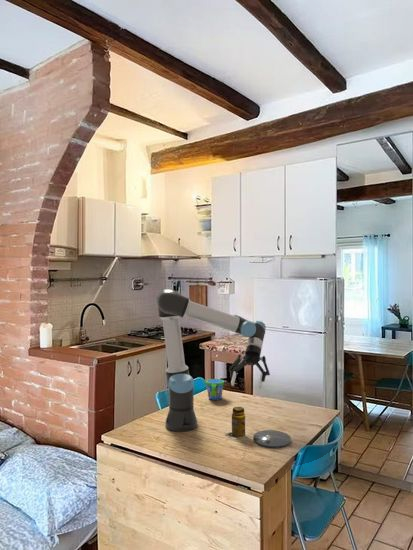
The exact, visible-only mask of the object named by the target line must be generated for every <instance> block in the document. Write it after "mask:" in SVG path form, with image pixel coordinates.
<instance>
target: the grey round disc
mask: <svg viewBox="0 0 413 550" xmlns="http://www.w3.org/2000/svg"><path fill="white" fill-rule="evenodd" d="M252 439H253V440H252V441H253V442H254V444H255V445H257V446H260V447H263V448H265V449H266V448H268V449H280V448H281V449H283V448H286V447H288V446H289V445H291V440H292V439H291V436H290V435H289V434H288V433H287V432H283V431H280V430H274V429H267V430H265V429H263V430H260V431H256V432H255V433H254V434H253V438H252Z"/></svg>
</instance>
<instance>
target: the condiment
mask: <svg viewBox="0 0 413 550" xmlns="http://www.w3.org/2000/svg"><path fill="white" fill-rule="evenodd" d="M224 435H225V436H226V437H228V438H230V439H232V440H238V439H243V438H246V437H250V436H249V434H247V433H246V414H245V408H244V407H243V406H234V407H233V408H232V414H231V432H228V433H224Z"/></svg>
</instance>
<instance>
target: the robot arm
mask: <svg viewBox="0 0 413 550" xmlns="http://www.w3.org/2000/svg"><path fill="white" fill-rule="evenodd" d="M156 304H157V310H158V318H159V319H160V320H161V321H162V328H163V335H164V343H165V350H166V360H167V368H166V369H165V375H166V386H167V389H168V413H167V416H166V419H165V428H166V429H167V430H169V431H172V432H188V431H189V432H190V431H192V430H194V429H196V428H197V427H198V419H197V416H196V413H195V407H194V405H195V403H194V401H195V400H194V387H195V382H194V378H193V377H192V376H191V375H190V370H189V366H188V365H187V364H186V362H185V353H184V346H183V345H184V344H183V338H182V337H183V336H182V327H181V321H180V318H185V317H187V318H190V319H193V320H196V321H199V322H203V323H205V324H209V325H212V326H213V327H218V328H220V329H224V330H227V331H230V332H232V333H235V334H237V335H240V336H241V335H242V336H243V337H246V338H248V340H247V345H246V349H245V354H244V355H241V354H238V356H237V357H236V359H235V361H233V363H232V364H231V365H230V366H229V368H228V372H230V373H231V374H230V379H231V380H230V384H231V385H230V386H231V387H234V386H235V382H236V378H237V373H238V372H239V371H240V370H241V369H242V368H244V367H246V366H256V367H257V369H259V370H258V371H260V374H259V375H260V377H259V382H258V388H259V389H260V390H261V389H262V387H263V382H265V381H266V377H267V376H270V375H271V373H270V370H269V367H268V365H267V358H266V356H265V355H263V356H261V353H262V349H263V344H264V339H265V335H266V329H267V326H266V324H265V323H264V322H263V321H262V320H254V321H250V320H249V319H246V318H244V317H242V316H239V315H237V314H233V315H232V314H230V313H227V312H223V311H221V310H218V309H215V308H212V307H209V306H206V305H204V304H200V303H197V302H195V301H192V300H191V299H190V298H189V297H186V296H184V295H182V294H180V293H179V292H177V291H176V290H175V289H173V288H172V289H171V288H166V289H163V290H161V291H160V292H159V293H158V295H157V296H156ZM260 361H261V362H262V363H263V366H264V368H263V367H262V366H261V364H260V363H259V362H260Z"/></svg>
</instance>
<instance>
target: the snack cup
mask: <svg viewBox="0 0 413 550" xmlns="http://www.w3.org/2000/svg"><path fill="white" fill-rule="evenodd" d="M205 385H206V390H207V398H208V399H209V400H211V401H212V400H213V401H219V400H221V399H222V396H223V390H224V385H225V381H224V379H220V378H210V379H209V378H208V379H206V380H205Z"/></svg>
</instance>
